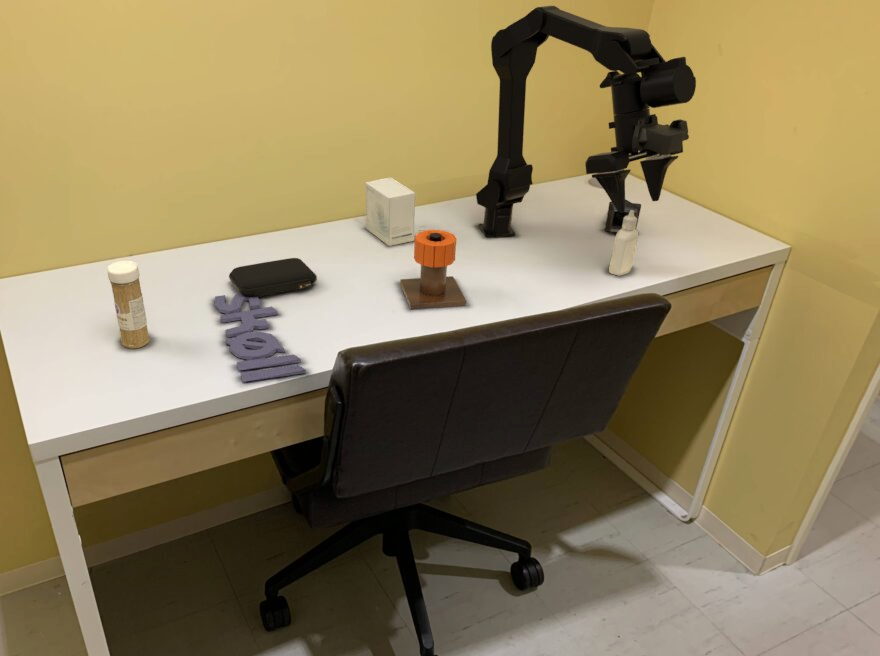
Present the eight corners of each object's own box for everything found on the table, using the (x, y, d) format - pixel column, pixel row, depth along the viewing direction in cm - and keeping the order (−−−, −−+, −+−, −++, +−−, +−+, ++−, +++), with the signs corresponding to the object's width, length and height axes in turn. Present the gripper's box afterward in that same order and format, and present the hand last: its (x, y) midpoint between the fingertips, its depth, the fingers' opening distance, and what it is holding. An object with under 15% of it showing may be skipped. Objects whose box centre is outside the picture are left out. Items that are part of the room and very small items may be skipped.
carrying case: (244, 305, 133) (322, 290, 139) (243, 289, 132) (322, 275, 137) (226, 281, 141) (301, 268, 147) (225, 266, 140) (300, 253, 145)
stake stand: (399, 284, 141) (401, 225, 135) (452, 280, 143) (456, 222, 136) (410, 309, 133) (413, 248, 127) (466, 305, 134) (471, 244, 128)
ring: (410, 251, 136) (411, 230, 134) (449, 249, 137) (450, 228, 135) (418, 268, 131) (419, 246, 128) (458, 266, 132) (460, 244, 129)
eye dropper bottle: (639, 273, 146) (652, 213, 139) (614, 277, 144) (626, 216, 138) (625, 264, 149) (637, 205, 143) (600, 268, 148) (612, 208, 141)
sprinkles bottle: (115, 343, 123) (100, 266, 115) (139, 332, 126) (125, 257, 118) (132, 352, 121) (118, 275, 113) (156, 341, 123) (143, 265, 116)
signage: (211, 296, 135) (266, 288, 138) (211, 299, 135) (267, 292, 138) (239, 380, 113) (305, 369, 115) (240, 384, 113) (305, 373, 116)
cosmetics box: (364, 229, 163) (364, 180, 157) (390, 223, 166) (391, 176, 160) (387, 246, 155) (388, 197, 150) (415, 241, 158) (417, 192, 152)
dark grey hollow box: (630, 215, 171) (636, 187, 167) (636, 238, 160) (643, 209, 156) (600, 213, 172) (605, 185, 168) (605, 236, 161) (610, 206, 157)
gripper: (636, 113, 116) (644, 216, 121) (709, 97, 125) (713, 193, 130) (578, 122, 125) (588, 218, 130) (650, 106, 134) (657, 196, 139)
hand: (638, 206), depth 132 cm, fingers open, 9 cm apart
